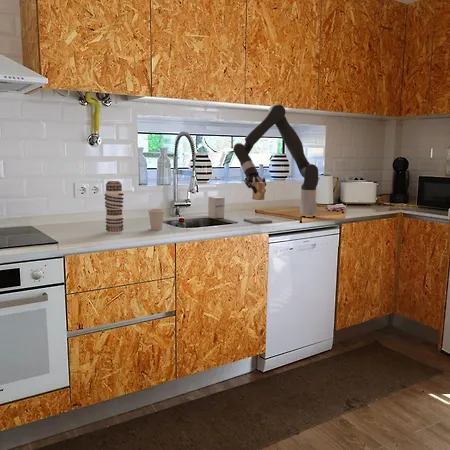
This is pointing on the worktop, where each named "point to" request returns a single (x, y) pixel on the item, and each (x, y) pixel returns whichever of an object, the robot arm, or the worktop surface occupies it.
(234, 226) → the worktop surface
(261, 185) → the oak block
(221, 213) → the supplement box
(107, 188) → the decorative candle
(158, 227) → the dixie cup
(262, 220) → the plate
